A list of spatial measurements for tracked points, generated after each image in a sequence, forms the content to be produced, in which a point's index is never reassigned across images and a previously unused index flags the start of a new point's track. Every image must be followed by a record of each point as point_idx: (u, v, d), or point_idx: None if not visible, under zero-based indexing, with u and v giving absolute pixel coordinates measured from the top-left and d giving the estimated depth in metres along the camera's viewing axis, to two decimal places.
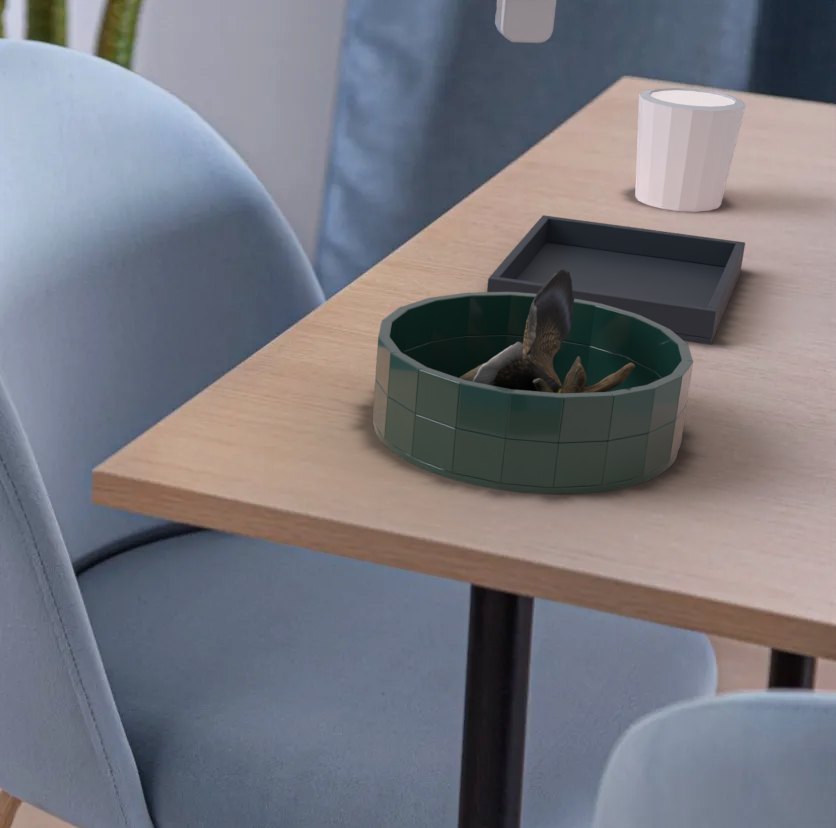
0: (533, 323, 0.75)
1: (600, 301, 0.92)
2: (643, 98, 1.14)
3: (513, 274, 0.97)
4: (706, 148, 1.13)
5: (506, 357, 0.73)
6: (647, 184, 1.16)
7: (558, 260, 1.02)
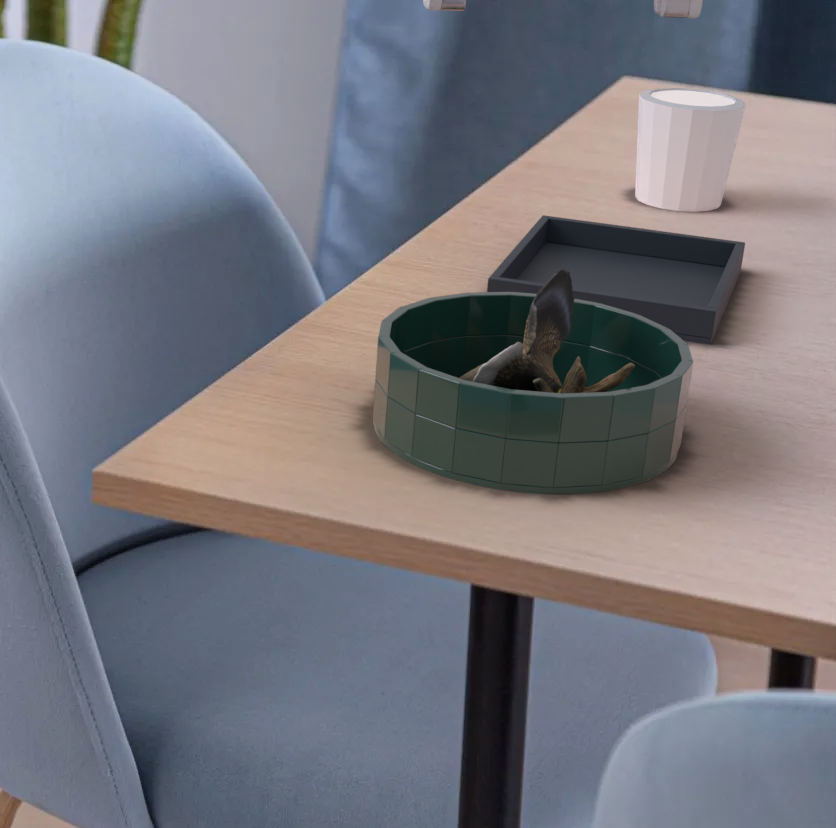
0: (533, 323, 0.75)
1: (600, 301, 0.92)
2: (643, 98, 1.14)
3: (513, 274, 0.97)
4: (706, 148, 1.13)
5: (506, 357, 0.73)
6: (647, 184, 1.16)
7: (558, 260, 1.02)
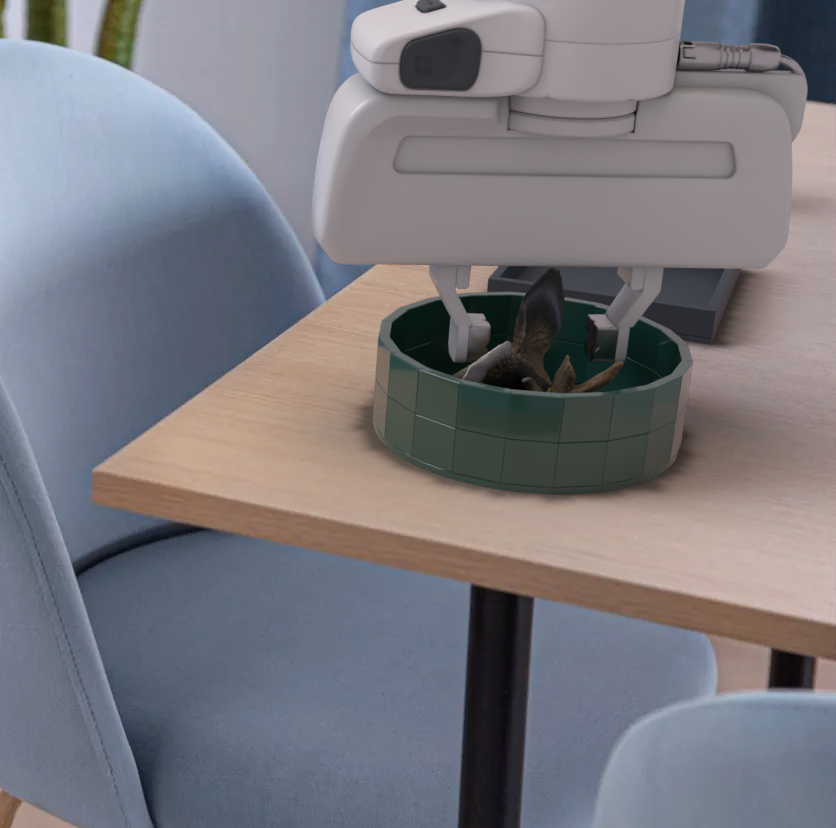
0: (522, 322, 0.75)
1: (600, 301, 0.92)
2: None
3: (513, 274, 0.97)
4: None
5: (495, 356, 0.73)
6: None
7: None
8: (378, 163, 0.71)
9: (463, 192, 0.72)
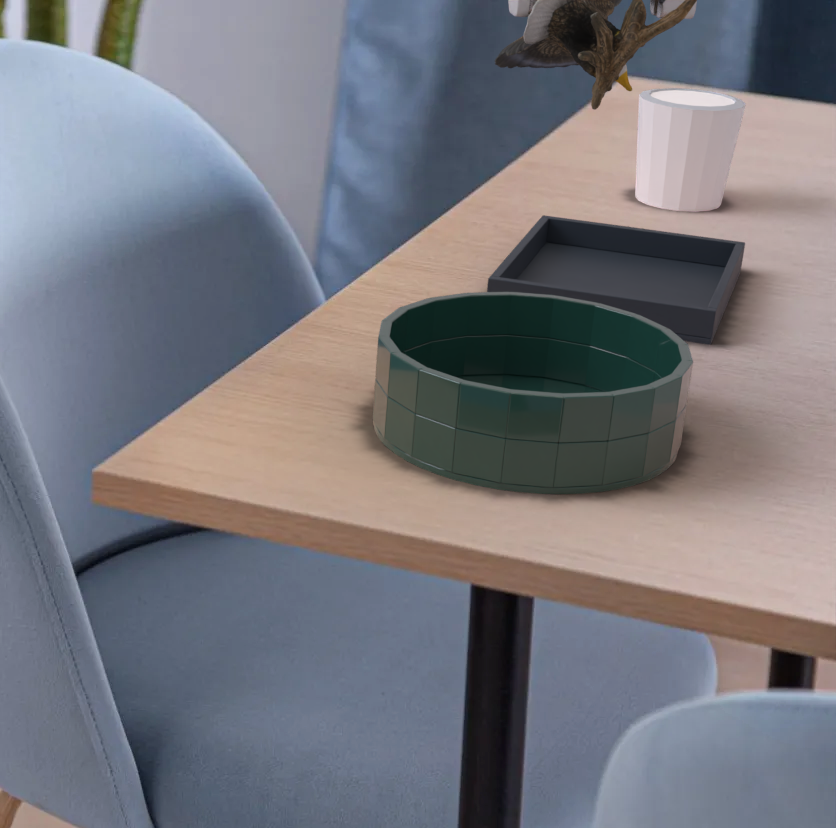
0: None
1: (600, 301, 0.92)
2: (643, 98, 1.14)
3: (513, 274, 0.97)
4: (706, 148, 1.13)
5: None
6: (647, 184, 1.16)
7: (558, 260, 1.02)
8: None
9: None
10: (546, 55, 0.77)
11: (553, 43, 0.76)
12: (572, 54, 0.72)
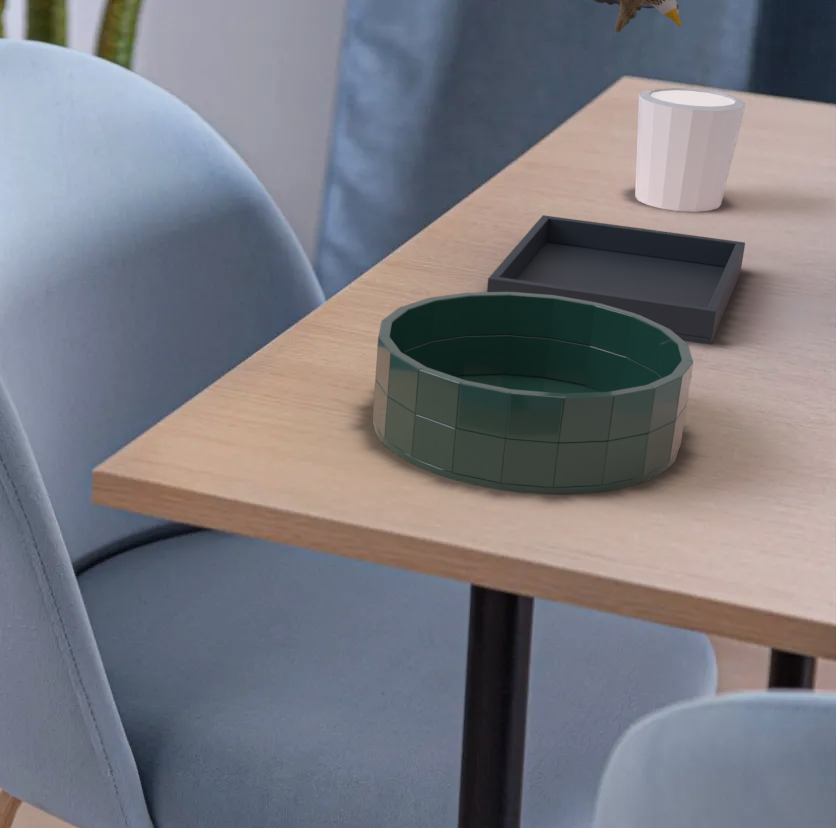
0: None
1: (600, 301, 0.92)
2: (643, 98, 1.14)
3: (513, 274, 0.97)
4: (706, 148, 1.13)
5: None
6: (647, 184, 1.16)
7: (558, 260, 1.02)
8: None
9: None
10: None
11: None
12: None
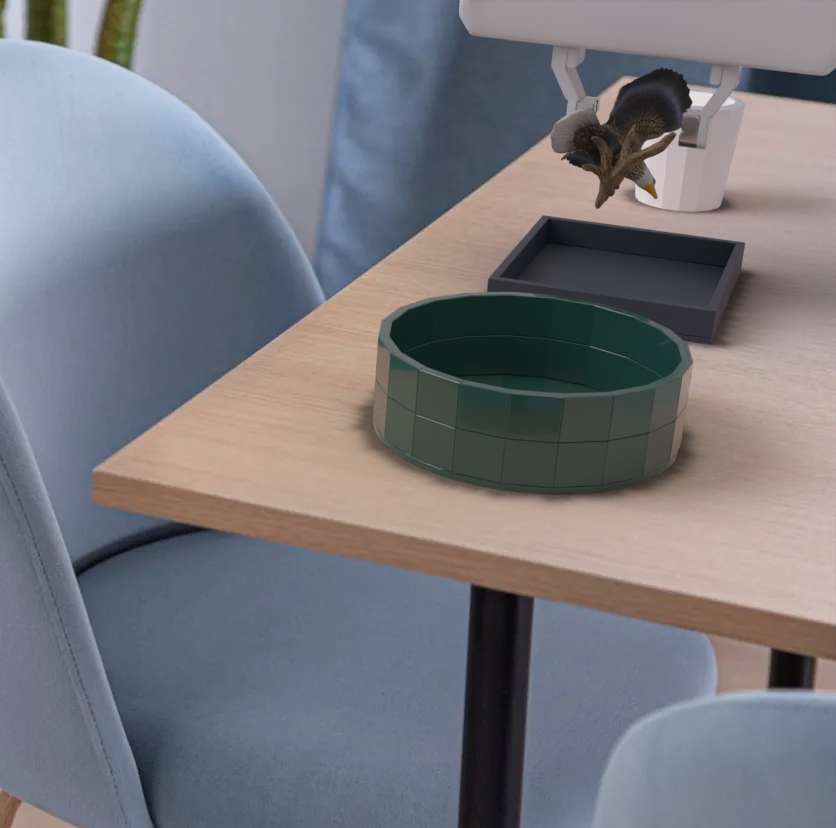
0: (616, 100, 0.93)
1: (600, 301, 0.92)
2: None
3: (513, 274, 0.97)
4: (706, 148, 1.13)
5: (577, 118, 0.92)
6: None
7: (558, 260, 1.02)
8: None
9: None
10: None
11: None
12: (594, 165, 0.94)
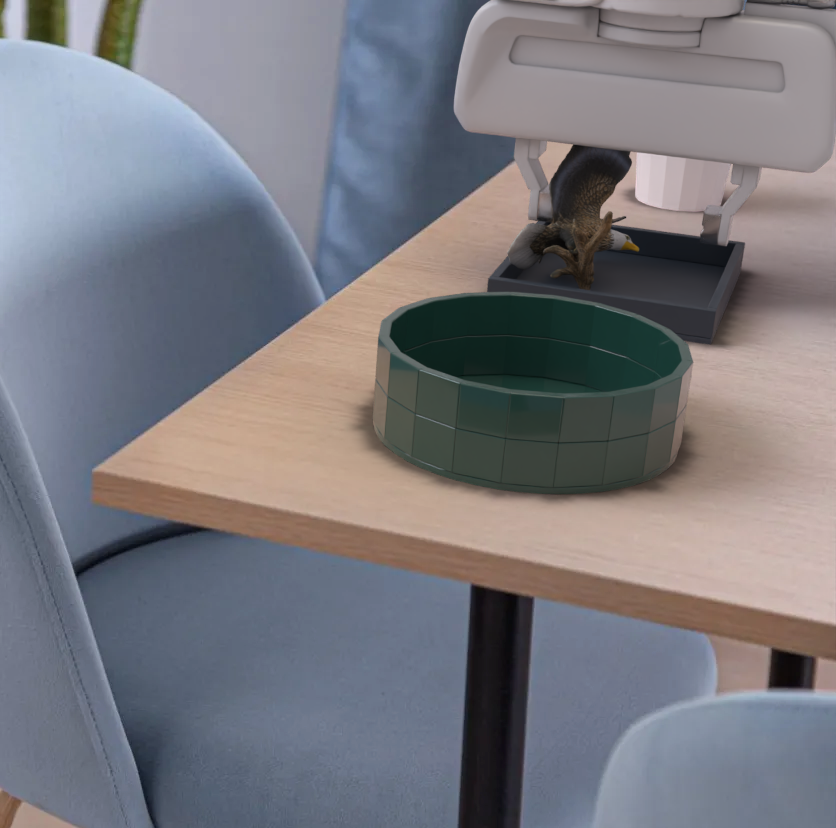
0: None
1: (600, 301, 0.92)
2: None
3: (513, 274, 0.97)
4: None
5: (523, 238, 0.95)
6: (647, 184, 1.16)
7: (558, 260, 1.02)
8: (497, 54, 0.94)
9: (561, 83, 0.93)
10: None
11: None
12: None
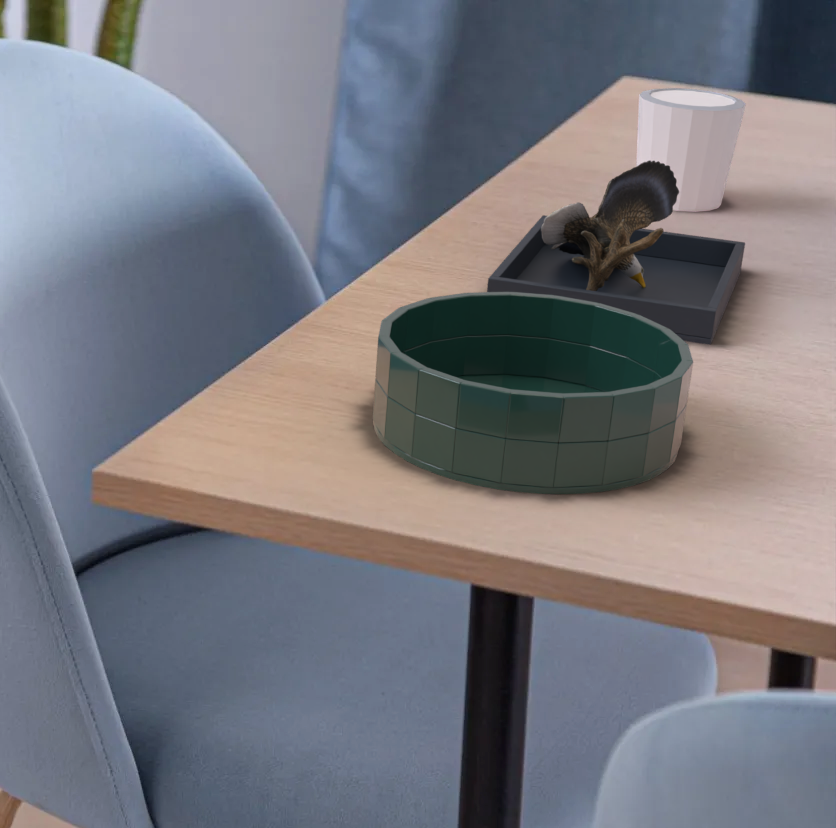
0: None
1: (600, 301, 0.92)
2: (643, 98, 1.14)
3: (513, 274, 0.97)
4: (706, 148, 1.13)
5: (567, 213, 0.95)
6: None
7: (558, 260, 1.02)
8: None
9: None
10: None
11: None
12: (584, 256, 0.97)
